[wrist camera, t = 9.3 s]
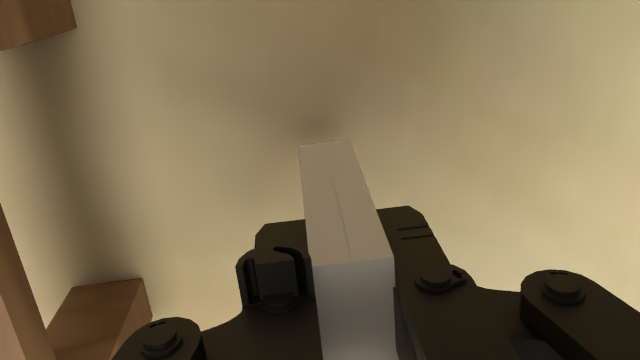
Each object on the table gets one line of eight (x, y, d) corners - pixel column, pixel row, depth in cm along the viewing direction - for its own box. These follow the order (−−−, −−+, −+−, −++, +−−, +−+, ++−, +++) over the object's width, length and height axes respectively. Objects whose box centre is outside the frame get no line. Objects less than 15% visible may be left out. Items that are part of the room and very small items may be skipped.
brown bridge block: (60, -33, 18) (-127, -35, 9) (152, 316, 23) (85, 514, 15) (-29, -24, 18) (-302, -17, 9) (84, 325, 23) (-23, 530, 15)
